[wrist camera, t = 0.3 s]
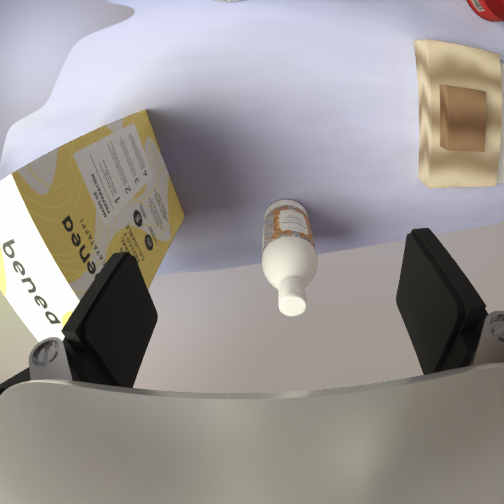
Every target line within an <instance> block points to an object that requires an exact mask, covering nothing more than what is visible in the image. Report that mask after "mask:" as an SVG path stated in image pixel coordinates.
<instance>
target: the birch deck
mask: <svg viewBox="0 0 504 504" xmlns="http://www.w3.org/2000/svg"><path fill="white" fill-rule="evenodd" d="M414 46H415V55H416V65H417V76H418V91H419V118H420V149H419V176H418V179H419V180H420V181H421V182H423V183H424V184H425V185H426V186H427V187H428V188H446V187H480V186H496V180H497V172H498V164H499V154H500V141H501V122H502V84H501V65H500V54H496V53H493V52H489V51H485V50H481V49H477V48H472V47H468V46H463V45H458V44H453V43H448V42H442V41H436V40H429V39H422V40H414ZM439 85H446V86H455V87H463V88H470V89H476V90H481V91H485V92H486V136H485V151H484V152H476V151H448V150H446V149H444V148H442V147H441V146H440V89H439Z"/></svg>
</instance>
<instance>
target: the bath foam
mask: <svg viewBox="0 0 504 504" xmlns="http://www.w3.org/2000/svg"><path fill="white" fill-rule="evenodd" d="M262 267H263V271H264V274H265V276H266V278H267V280H268V281H269V282H270V283H271V284H272V285H273V286H274V287H275V288H276V289H278V290H279V309H280V311H281V312H282V313H283V314H285V315H287V316H297V315H300V314H301V313H303V312H304V311H305V309H306V307H307V301H306V293H305V287H306V286H307V285H308V284H309V283H310V282H311V280H312V279H313V277H314V275H315V272H316V268H317V253H316V249H315V244H314V240H313V235H312V231H311V226H310V222H309V218H308V215H307V212H306V210H305V209H304V207H303V206H302V205H301V204H299V203H298V202H296V201H293V200H280V201H277V202H275V203H273V204H272V205H270V206H269V207H268V209H267V210H266V212H265V215H264V222H263V240H262Z"/></svg>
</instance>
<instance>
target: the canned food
mask: <svg viewBox="0 0 504 504" xmlns="http://www.w3.org/2000/svg"><path fill="white" fill-rule="evenodd" d="M467 2H468V4H469V6H470V7H471V8H472V10H473V11H474V12H475V13H476V14H477V15H478V16H480V17H481V18H483V19H486V20H488V21H504V0H467Z"/></svg>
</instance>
